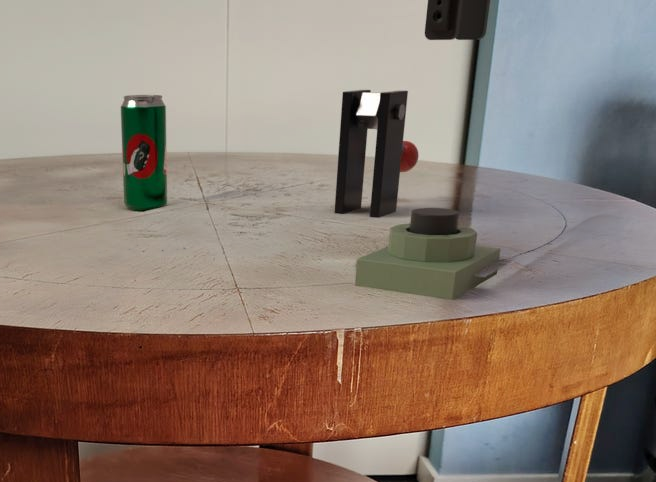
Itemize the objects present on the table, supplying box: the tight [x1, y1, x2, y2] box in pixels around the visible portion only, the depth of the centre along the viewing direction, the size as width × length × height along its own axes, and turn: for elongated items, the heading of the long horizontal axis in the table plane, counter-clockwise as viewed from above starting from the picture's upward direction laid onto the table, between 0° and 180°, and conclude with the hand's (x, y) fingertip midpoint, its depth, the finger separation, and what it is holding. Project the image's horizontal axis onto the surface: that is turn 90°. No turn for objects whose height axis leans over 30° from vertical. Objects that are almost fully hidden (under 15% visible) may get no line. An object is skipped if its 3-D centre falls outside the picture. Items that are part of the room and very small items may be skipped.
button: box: [409, 207, 460, 235], centre depth 70 cm, size 4×4×2 cm
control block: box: [354, 222, 501, 301], centre depth 72 cm, size 8×10×4 cm
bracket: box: [334, 89, 409, 219], centre depth 92 cm, size 9×11×13 cm
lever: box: [356, 91, 420, 173], centre depth 94 cm, size 13×3×3 cm
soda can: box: [120, 94, 168, 212], centre depth 103 cm, size 5×5×12 cm
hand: (455, 38), depth 65 cm, fingers open, 5 cm apart
